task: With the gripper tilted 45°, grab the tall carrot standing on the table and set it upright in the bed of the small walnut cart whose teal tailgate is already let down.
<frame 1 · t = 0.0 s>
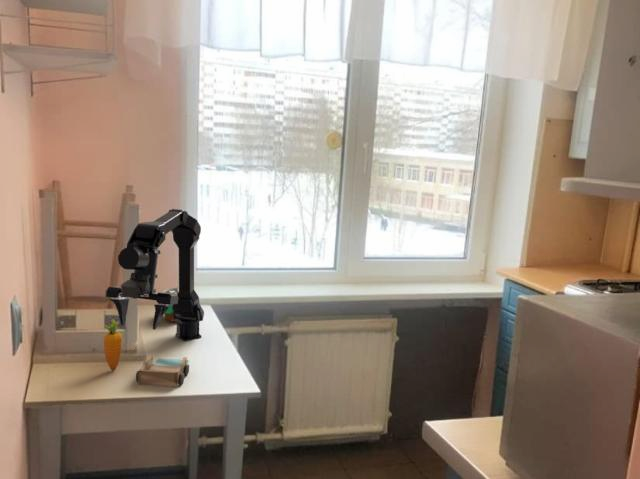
hand: (138, 327, 161), 15 cm above the table, tool pointing down, fingers open, 9 cm apart
carrot: (113, 371, 169), on the table
cart: (163, 377, 167), on the table
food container: (170, 319, 212), on the table
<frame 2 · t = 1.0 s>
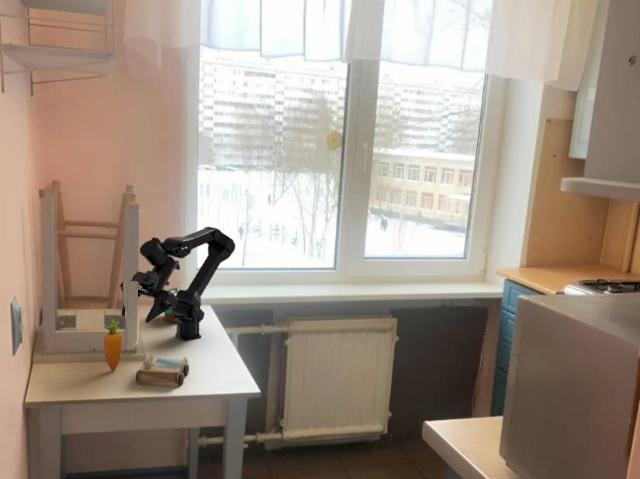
hand: (134, 318, 173), 13 cm above the table, tool tilted 45°, fingers open, 9 cm apart
nothing on the table moved.
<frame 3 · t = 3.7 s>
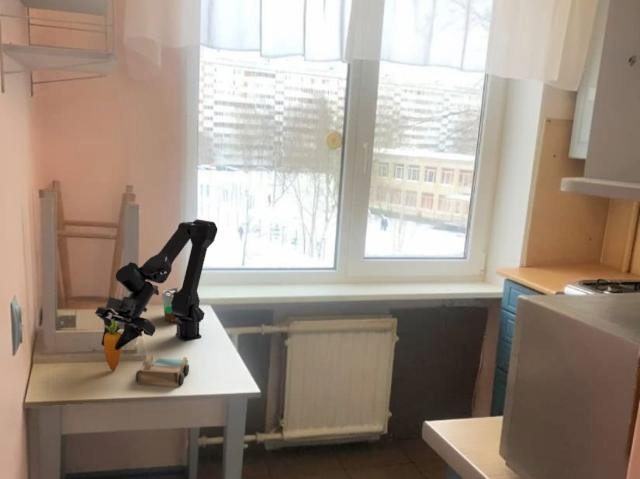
hand: (109, 347, 166), 8 cm above the table, tool tilted 45°, fingers closed on carrot, 5 cm apart
carrot: (113, 371, 169), on the table, touching gripper
everything else where it was.
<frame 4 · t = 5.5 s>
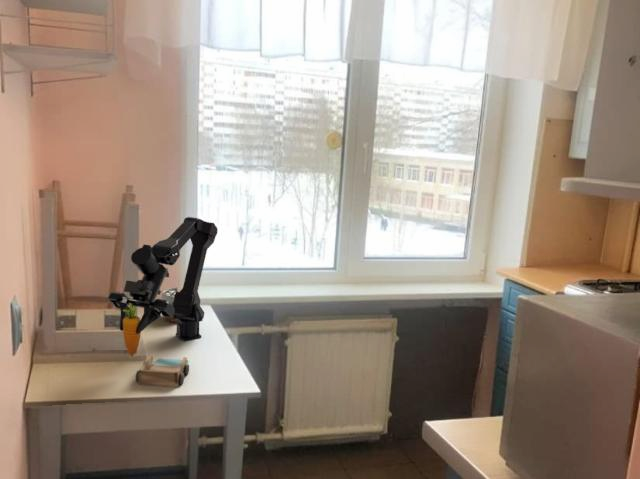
hand: (128, 331, 163), 13 cm above the table, tool tilted 45°, fingers closed on carrot, 5 cm apart
carrot: (132, 356, 166), point 5 cm above the table, touching gripper
everything else where it was.
when the fingers open (10 cm above the table, at t = 7.2 s): carrot drops 2 cm, resting on cart.
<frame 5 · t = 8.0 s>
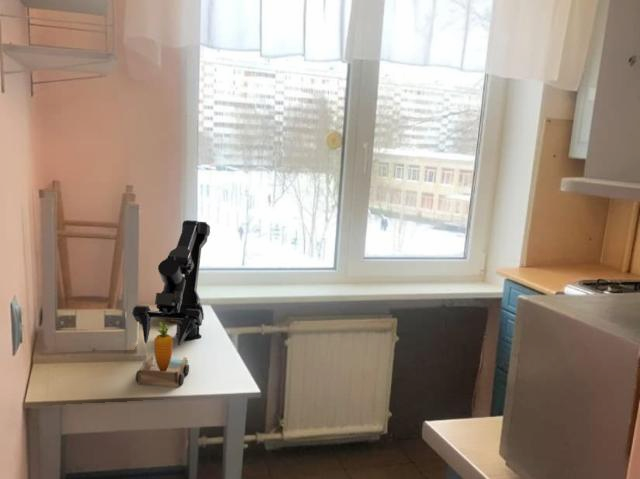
hand: (162, 343, 163), 11 cm above the table, tool tilted 45°, fingers open, 9 cm apart
carrot: (163, 374, 167), point 1 cm above the table, touching cart
everything else where it was.
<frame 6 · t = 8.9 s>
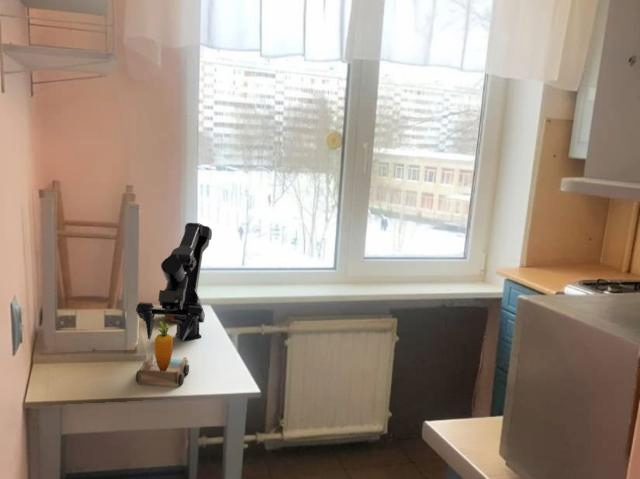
hand: (165, 340, 167), 10 cm above the table, tool tilted 45°, fingers open, 9 cm apart
nothing on the table moved.
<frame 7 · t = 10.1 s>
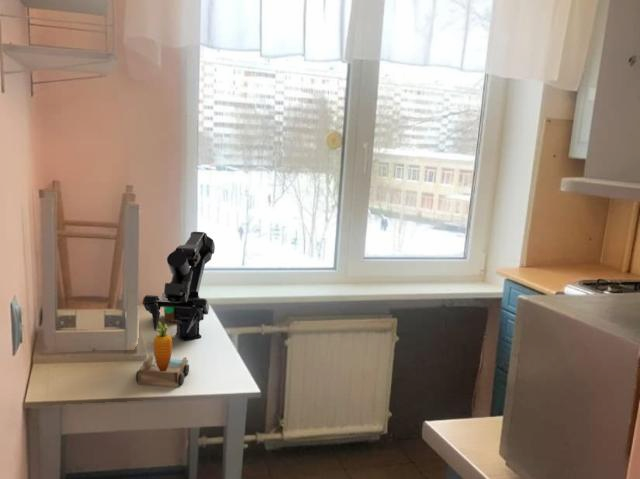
hand: (170, 331, 173), 11 cm above the table, tool tilted 45°, fingers open, 9 cm apart
nothing on the table moved.
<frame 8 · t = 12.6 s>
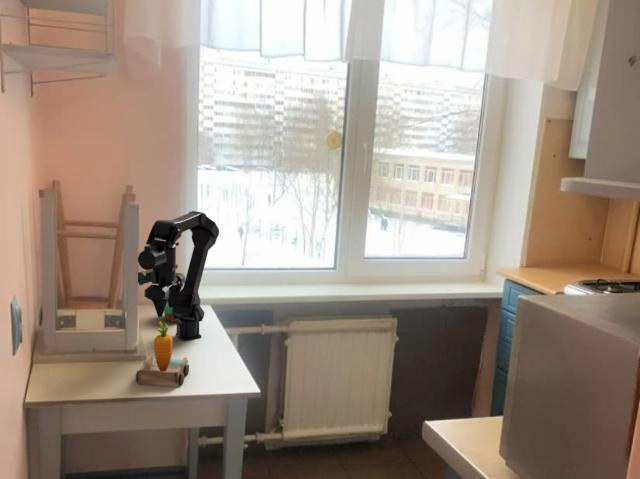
hand: (165, 312, 181), 13 cm above the table, tool pointing down, fingers open, 9 cm apart
nothing on the table moved.
at the end: carrot 0.2 cm off-centre on the cart, point 0.8 cm above the cart's base; carrot tilted 1°; the gripper is holding nothing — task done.
